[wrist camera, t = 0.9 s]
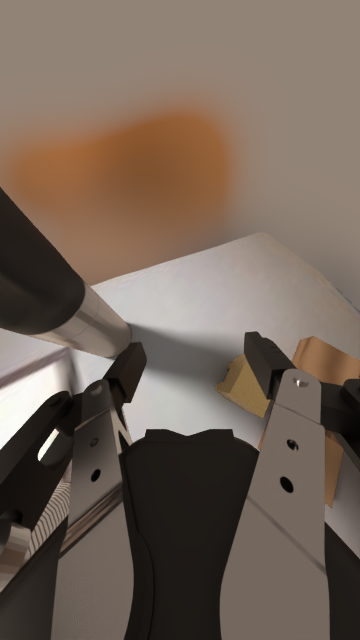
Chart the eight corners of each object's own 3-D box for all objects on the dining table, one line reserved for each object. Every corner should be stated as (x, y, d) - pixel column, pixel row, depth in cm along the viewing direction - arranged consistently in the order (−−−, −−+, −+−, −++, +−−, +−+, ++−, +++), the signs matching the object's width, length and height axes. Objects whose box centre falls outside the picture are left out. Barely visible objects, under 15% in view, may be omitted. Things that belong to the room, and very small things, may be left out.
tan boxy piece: (212, 388, 28) (229, 393, 18) (228, 359, 31) (252, 350, 20) (232, 403, 27) (262, 418, 17) (248, 372, 30) (282, 369, 19)
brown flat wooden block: (257, 448, 25) (269, 458, 21) (300, 340, 32) (313, 336, 29) (310, 489, 22) (331, 508, 19) (342, 364, 30) (361, 362, 27)
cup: (41, 475, 24) (-175, 623, 9) (92, 467, 24) (-41, 598, 10) (26, 554, 20) (-349, 975, 6) (85, 543, 21) (-132, 916, 6)
